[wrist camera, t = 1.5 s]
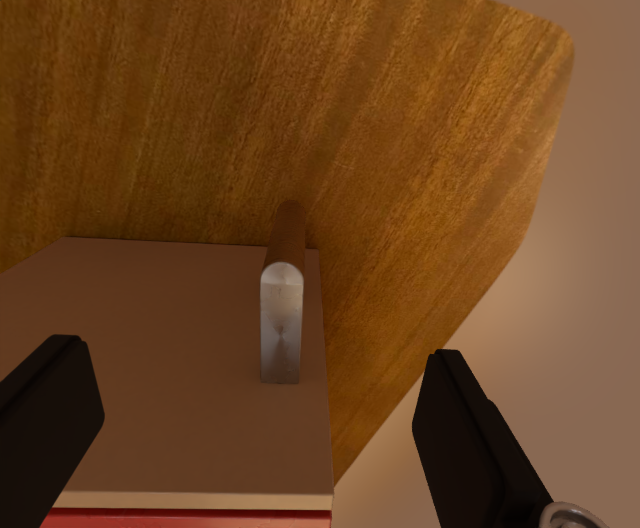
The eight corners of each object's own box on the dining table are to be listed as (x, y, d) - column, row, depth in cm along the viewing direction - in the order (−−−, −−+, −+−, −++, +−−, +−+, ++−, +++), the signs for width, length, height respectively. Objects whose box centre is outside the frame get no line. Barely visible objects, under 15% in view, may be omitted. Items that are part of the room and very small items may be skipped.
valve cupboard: (67, 247, 34) (-341, 513, 13) (317, 259, 36) (332, 518, 14) (103, 389, 42) (-112, 703, 21) (308, 394, 43) (308, 695, 22)
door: (43, 159, 31) (-560, 316, 9) (323, 176, 32) (354, 348, 11) (65, 246, 34) (-339, 504, 13) (317, 258, 35) (332, 511, 14)
